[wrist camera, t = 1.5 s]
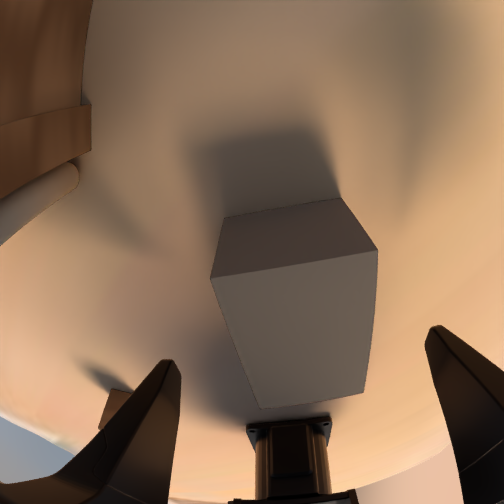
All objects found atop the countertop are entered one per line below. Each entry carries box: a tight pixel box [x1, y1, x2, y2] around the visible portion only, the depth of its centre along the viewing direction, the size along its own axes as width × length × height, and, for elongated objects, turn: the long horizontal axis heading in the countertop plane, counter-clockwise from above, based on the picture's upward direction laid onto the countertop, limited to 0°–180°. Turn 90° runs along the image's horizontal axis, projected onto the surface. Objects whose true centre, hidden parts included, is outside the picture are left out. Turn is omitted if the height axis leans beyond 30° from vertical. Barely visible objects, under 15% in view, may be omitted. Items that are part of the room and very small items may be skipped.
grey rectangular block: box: [210, 198, 378, 409], centre depth 11 cm, size 7×4×4 cm, turn 12°
